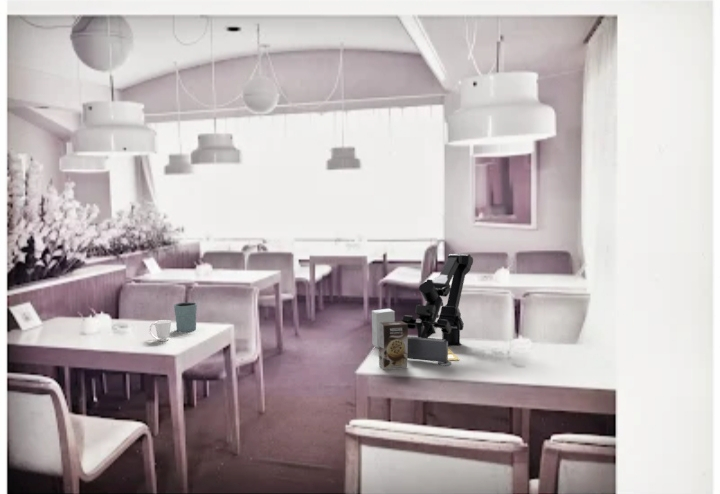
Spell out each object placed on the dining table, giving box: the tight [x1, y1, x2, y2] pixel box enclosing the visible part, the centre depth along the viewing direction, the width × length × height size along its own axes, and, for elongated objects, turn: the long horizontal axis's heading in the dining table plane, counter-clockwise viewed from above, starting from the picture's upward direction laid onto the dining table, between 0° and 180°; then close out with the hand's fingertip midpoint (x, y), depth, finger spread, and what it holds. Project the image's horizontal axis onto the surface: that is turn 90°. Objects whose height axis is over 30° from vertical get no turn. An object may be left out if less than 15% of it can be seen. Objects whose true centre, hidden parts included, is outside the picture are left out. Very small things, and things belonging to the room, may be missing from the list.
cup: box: [148, 319, 172, 342], centre depth 272 cm, size 7×10×8 cm
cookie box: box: [378, 320, 409, 371], centre depth 228 cm, size 9×6×16 cm
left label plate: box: [448, 353, 460, 362], centre depth 240 cm, size 6×8×1 cm
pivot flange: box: [437, 361, 452, 367], centre depth 231 cm, size 5×5×1 cm
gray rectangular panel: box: [408, 335, 449, 363], centre depth 233 cm, size 16×2×8 cm, turn 68°
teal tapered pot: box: [173, 302, 198, 333], centre depth 291 cm, size 10×10×12 cm
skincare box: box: [371, 308, 396, 349], centre depth 258 cm, size 8×6×15 cm
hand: (419, 342), depth 236 cm, fingers closed
